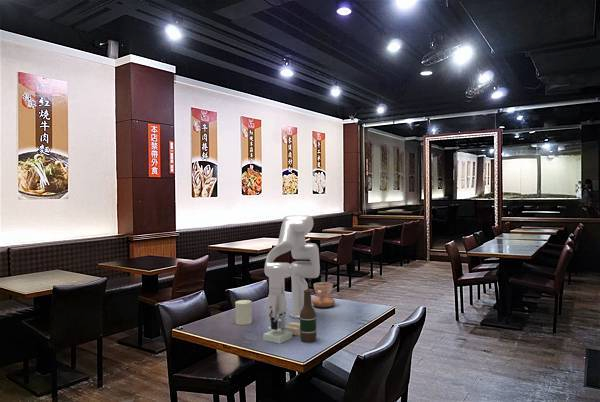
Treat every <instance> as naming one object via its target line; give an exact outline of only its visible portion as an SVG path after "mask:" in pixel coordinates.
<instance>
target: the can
mask: <svg viewBox="0 0 600 402" xmlns="http://www.w3.org/2000/svg"><path fill="white" fill-rule="evenodd" d="M234 303H235V310H234V311H235V321H234V322H235V323H234V324H235V325H238V326H239V325H240V326H244V325H245V326H247V325H250V324H252V323H253V317H252V312H253V311H252V307H253V306H252V300H249V299H241V300H240V299H239V300H236V301H235V302H234Z"/></svg>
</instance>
